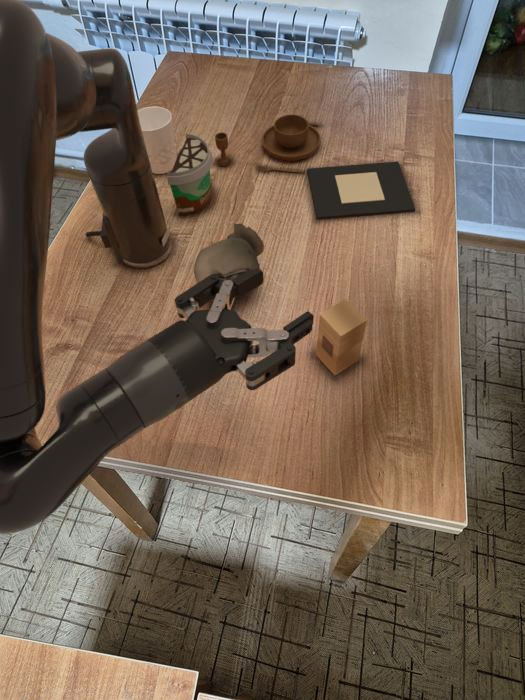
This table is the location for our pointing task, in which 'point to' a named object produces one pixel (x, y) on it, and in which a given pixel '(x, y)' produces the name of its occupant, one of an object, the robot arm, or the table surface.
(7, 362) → the robot arm
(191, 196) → the food container
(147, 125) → the white cup
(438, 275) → the table surface
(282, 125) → the place setting
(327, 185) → the mat
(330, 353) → the tan block
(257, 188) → the table surface
